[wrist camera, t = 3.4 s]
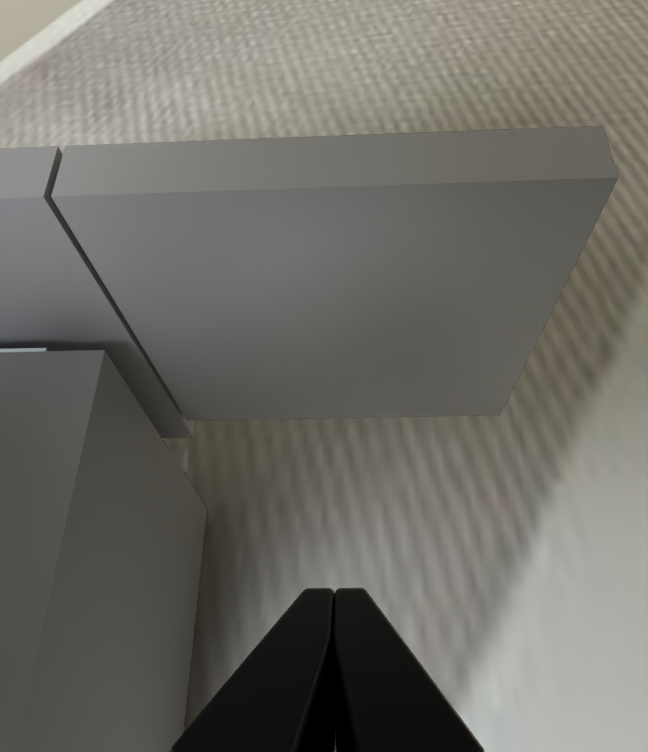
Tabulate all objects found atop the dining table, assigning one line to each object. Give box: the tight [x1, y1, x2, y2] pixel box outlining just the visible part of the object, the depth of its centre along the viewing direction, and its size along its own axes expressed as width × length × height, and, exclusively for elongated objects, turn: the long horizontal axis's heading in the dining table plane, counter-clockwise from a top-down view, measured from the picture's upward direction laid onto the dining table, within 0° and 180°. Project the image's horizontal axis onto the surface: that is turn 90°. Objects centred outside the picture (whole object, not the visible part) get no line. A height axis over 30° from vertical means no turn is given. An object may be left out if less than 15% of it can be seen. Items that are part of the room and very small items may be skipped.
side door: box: [0, 126, 618, 438], centre depth 11 cm, size 1×16×8 cm, turn 89°
